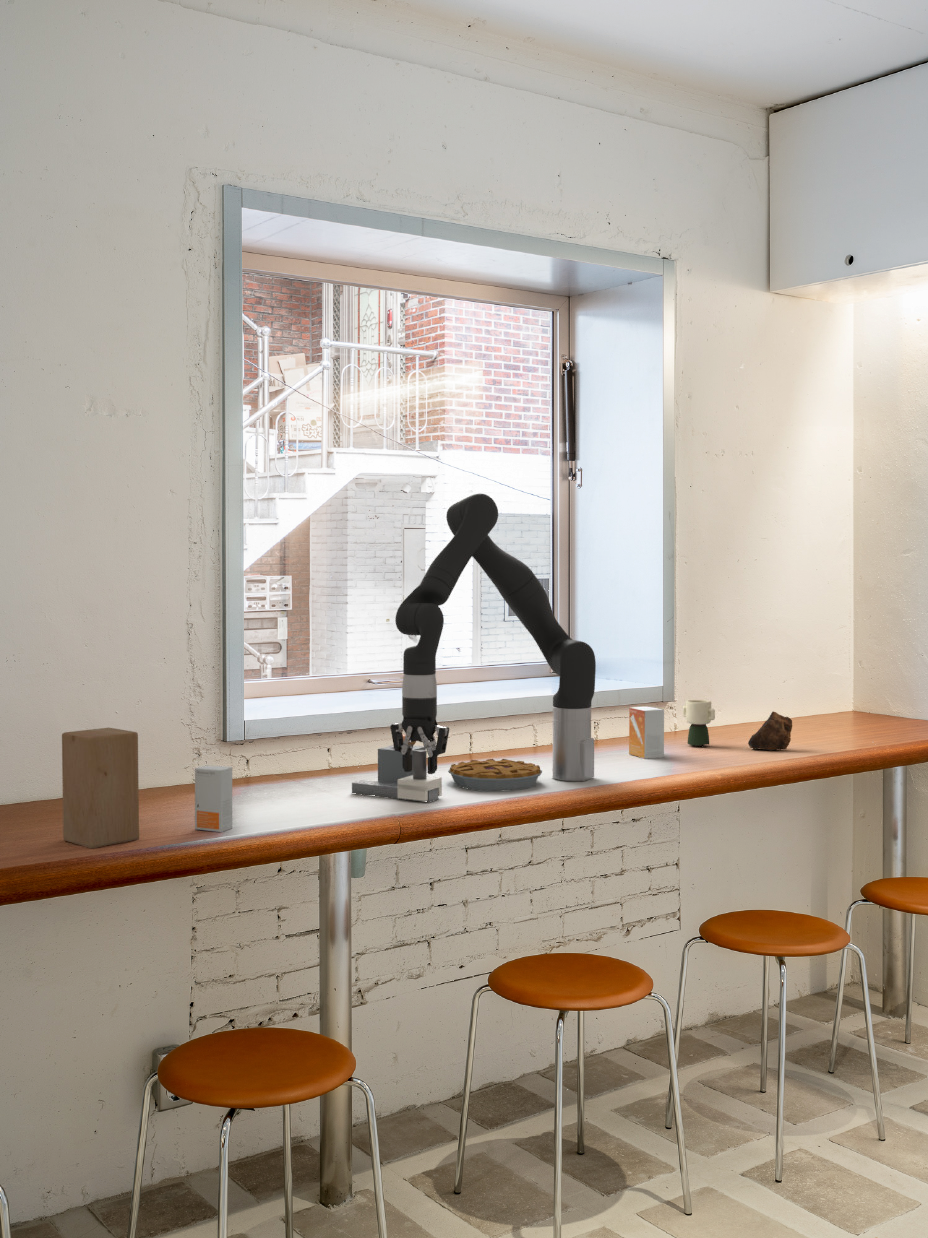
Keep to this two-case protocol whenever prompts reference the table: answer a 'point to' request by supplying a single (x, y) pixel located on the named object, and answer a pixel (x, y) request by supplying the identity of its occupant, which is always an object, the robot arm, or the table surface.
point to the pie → (495, 775)
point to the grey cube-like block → (392, 764)
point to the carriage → (419, 780)
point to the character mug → (698, 720)
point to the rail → (384, 789)
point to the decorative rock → (773, 733)
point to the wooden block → (100, 787)
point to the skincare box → (213, 798)
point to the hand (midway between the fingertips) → (419, 772)
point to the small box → (646, 732)
